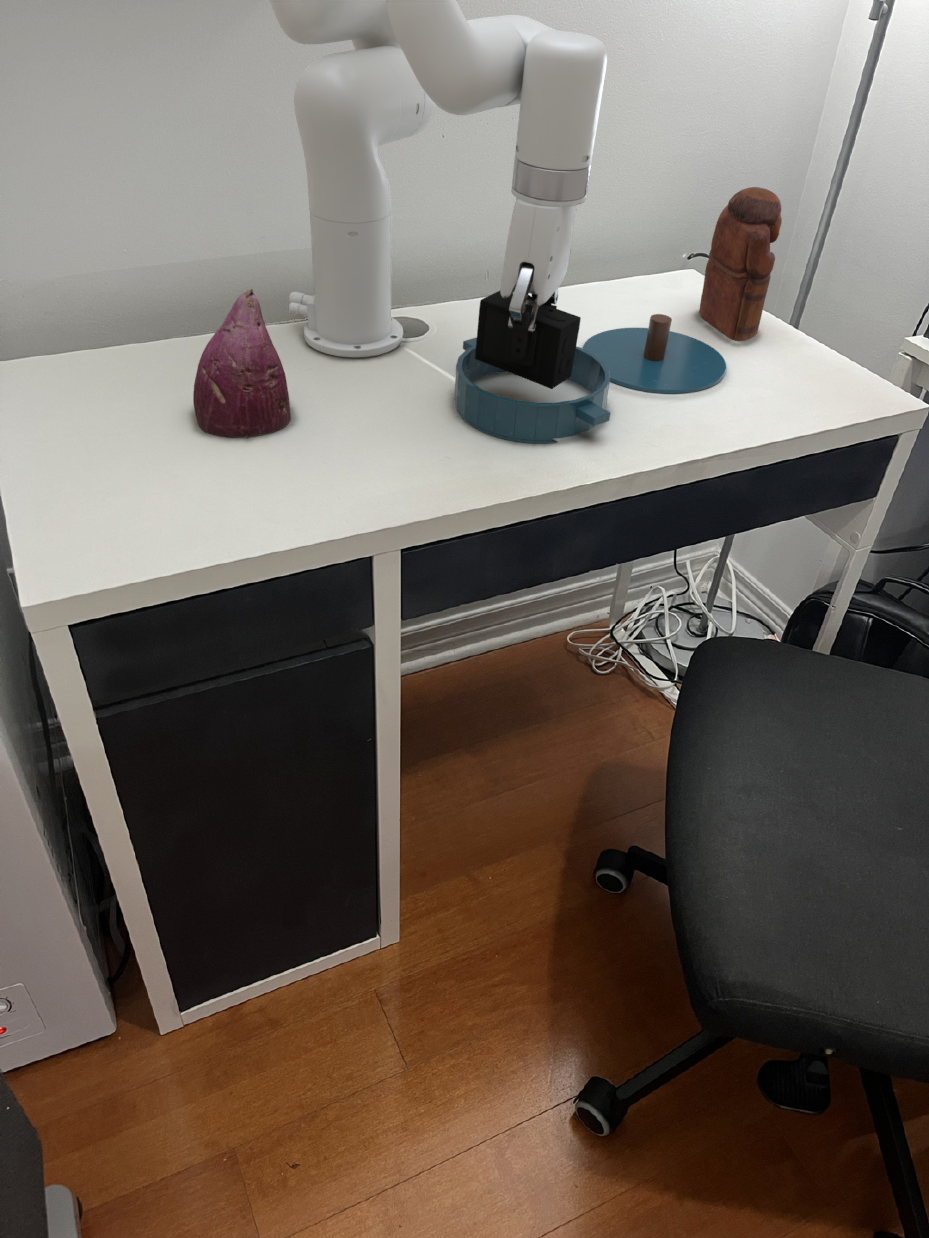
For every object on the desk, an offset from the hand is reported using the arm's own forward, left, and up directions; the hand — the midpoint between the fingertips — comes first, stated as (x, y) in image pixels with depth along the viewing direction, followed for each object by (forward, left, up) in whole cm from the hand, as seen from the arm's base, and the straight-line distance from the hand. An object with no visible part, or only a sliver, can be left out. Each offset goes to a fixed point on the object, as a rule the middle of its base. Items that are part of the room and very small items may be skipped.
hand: (528, 348), depth 105 cm
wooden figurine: (+19, +34, -7) cm, 39 cm away
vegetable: (-27, -16, -7) cm, 32 cm away
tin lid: (+12, +17, -6) cm, 22 cm away
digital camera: (0, 0, -2) cm, 2 cm away
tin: (+1, 0, -7) cm, 7 cm away
